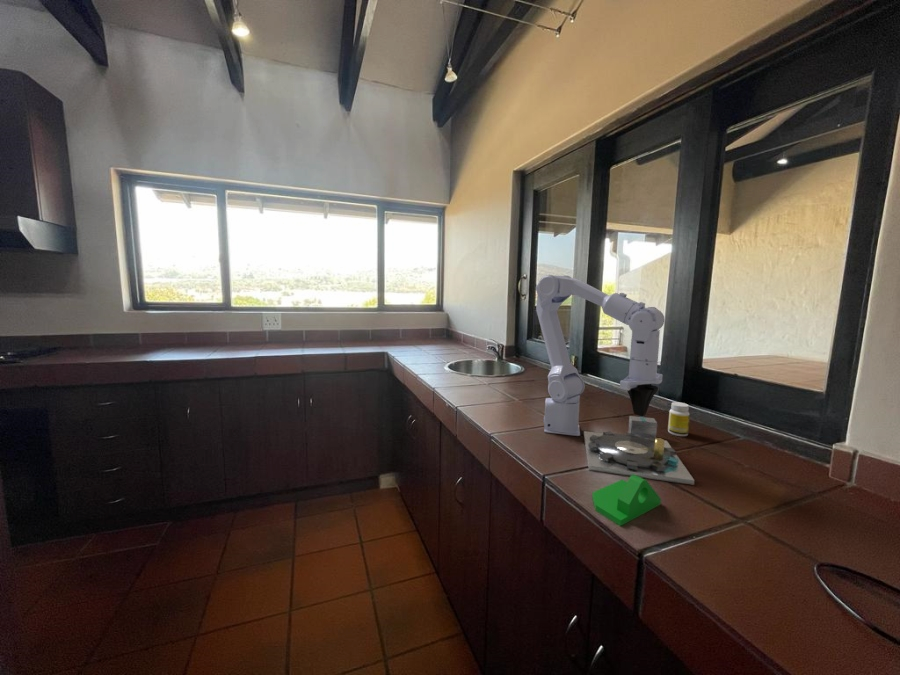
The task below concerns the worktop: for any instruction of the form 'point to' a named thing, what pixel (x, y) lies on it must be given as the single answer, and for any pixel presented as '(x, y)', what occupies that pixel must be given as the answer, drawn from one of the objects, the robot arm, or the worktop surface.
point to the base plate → (671, 473)
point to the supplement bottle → (679, 419)
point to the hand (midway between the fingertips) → (639, 414)
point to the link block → (643, 427)
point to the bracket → (625, 499)
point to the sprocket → (633, 450)
